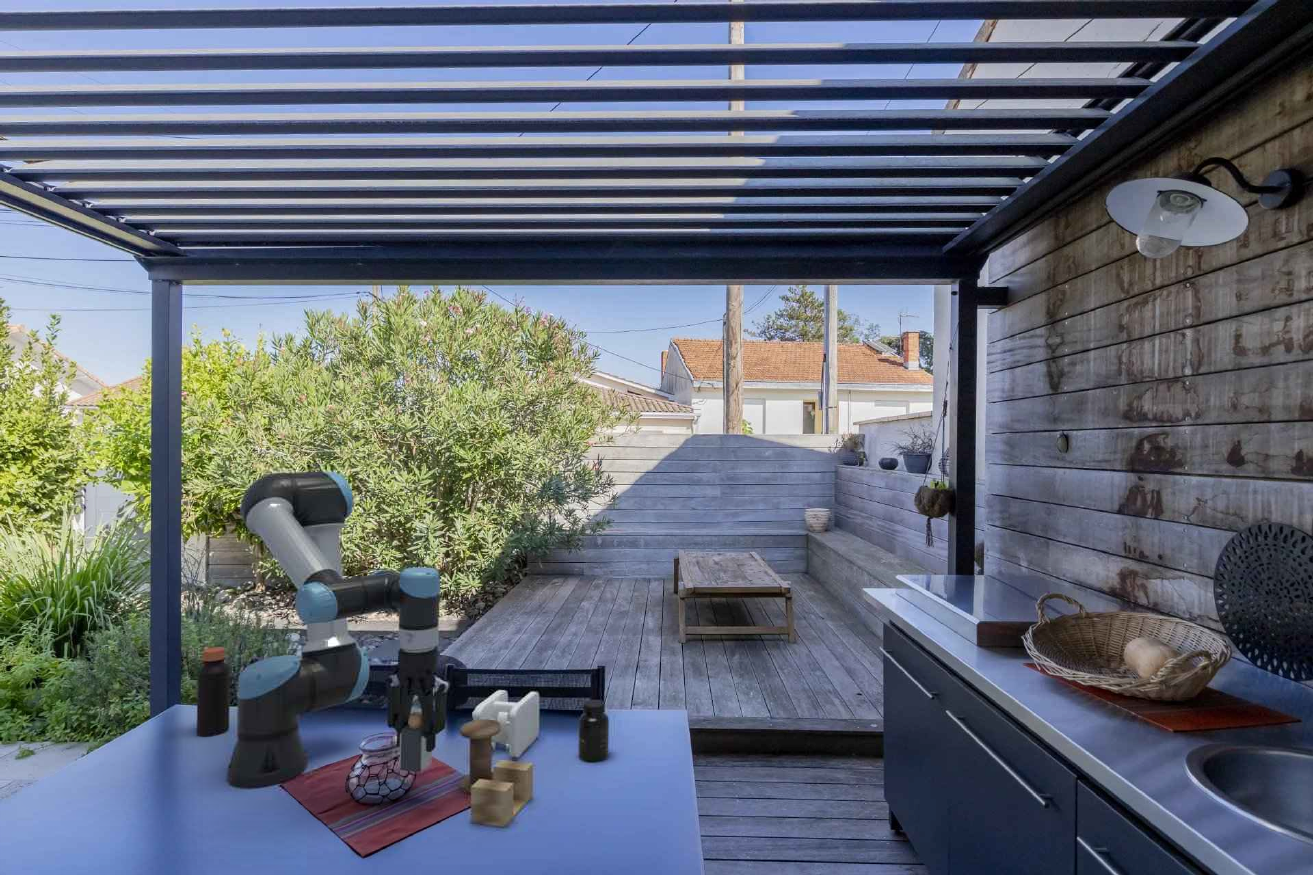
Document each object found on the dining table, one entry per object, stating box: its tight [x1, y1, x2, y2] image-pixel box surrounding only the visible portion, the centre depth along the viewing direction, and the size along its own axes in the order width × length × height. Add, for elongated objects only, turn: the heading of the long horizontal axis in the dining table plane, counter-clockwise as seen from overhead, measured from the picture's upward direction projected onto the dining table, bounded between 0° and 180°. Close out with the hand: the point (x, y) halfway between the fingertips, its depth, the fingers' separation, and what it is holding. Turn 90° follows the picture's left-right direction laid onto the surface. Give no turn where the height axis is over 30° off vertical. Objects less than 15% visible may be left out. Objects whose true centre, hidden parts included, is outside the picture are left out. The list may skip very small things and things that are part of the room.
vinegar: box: [196, 646, 231, 737], centre depth 176 cm, size 7×7×20 cm
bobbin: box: [460, 719, 501, 794], centre depth 148 cm, size 8×8×12 cm
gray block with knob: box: [400, 711, 425, 773], centre depth 142 cm, size 4×4×10 cm
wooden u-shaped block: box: [470, 759, 534, 828], centre depth 138 cm, size 7×12×7 cm, turn 166°
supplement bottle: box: [577, 699, 610, 763], centre depth 162 cm, size 7×7×12 cm
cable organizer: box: [471, 689, 540, 759], centre depth 167 cm, size 15×11×12 cm
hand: (415, 764), depth 142 cm, fingers closed on gray block with knob, 4 cm apart
